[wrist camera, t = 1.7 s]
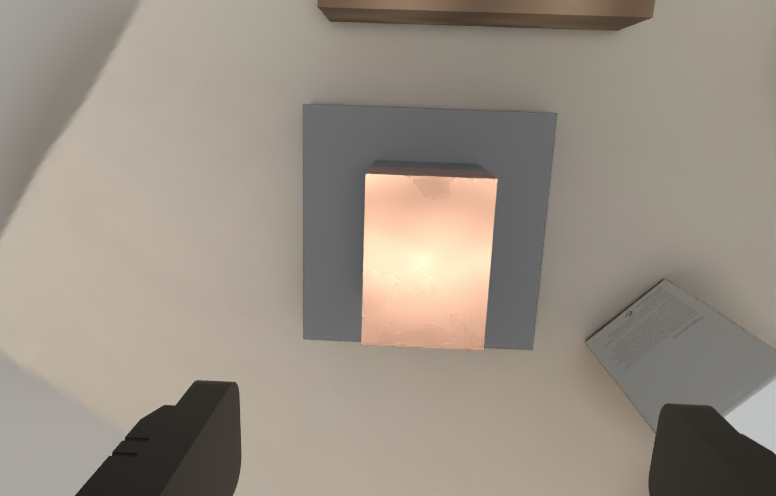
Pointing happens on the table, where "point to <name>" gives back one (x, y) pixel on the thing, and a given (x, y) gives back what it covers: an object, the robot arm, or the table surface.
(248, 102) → the table surface
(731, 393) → the small box
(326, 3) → the walnut stand
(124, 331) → the table surface
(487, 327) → the rubber mat
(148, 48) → the table surface
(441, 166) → the copper rectangular block
